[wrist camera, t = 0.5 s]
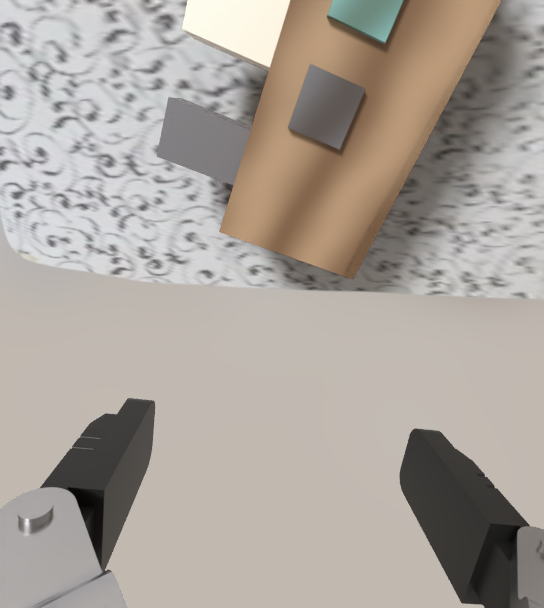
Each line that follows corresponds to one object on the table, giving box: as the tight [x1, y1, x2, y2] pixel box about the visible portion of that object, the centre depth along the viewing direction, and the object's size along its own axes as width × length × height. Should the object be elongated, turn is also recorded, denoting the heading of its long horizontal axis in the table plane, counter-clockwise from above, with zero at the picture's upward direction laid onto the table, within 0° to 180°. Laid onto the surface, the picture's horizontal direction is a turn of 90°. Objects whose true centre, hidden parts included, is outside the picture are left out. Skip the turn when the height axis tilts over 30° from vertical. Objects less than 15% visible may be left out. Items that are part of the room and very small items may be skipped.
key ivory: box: [182, 0, 290, 72], centre depth 24 cm, size 10×4×4 cm, turn 70°
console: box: [219, 0, 502, 279], centre depth 26 cm, size 11×26×12 cm, turn 160°
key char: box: [157, 98, 251, 185], centre depth 28 cm, size 10×4×4 cm, turn 70°
